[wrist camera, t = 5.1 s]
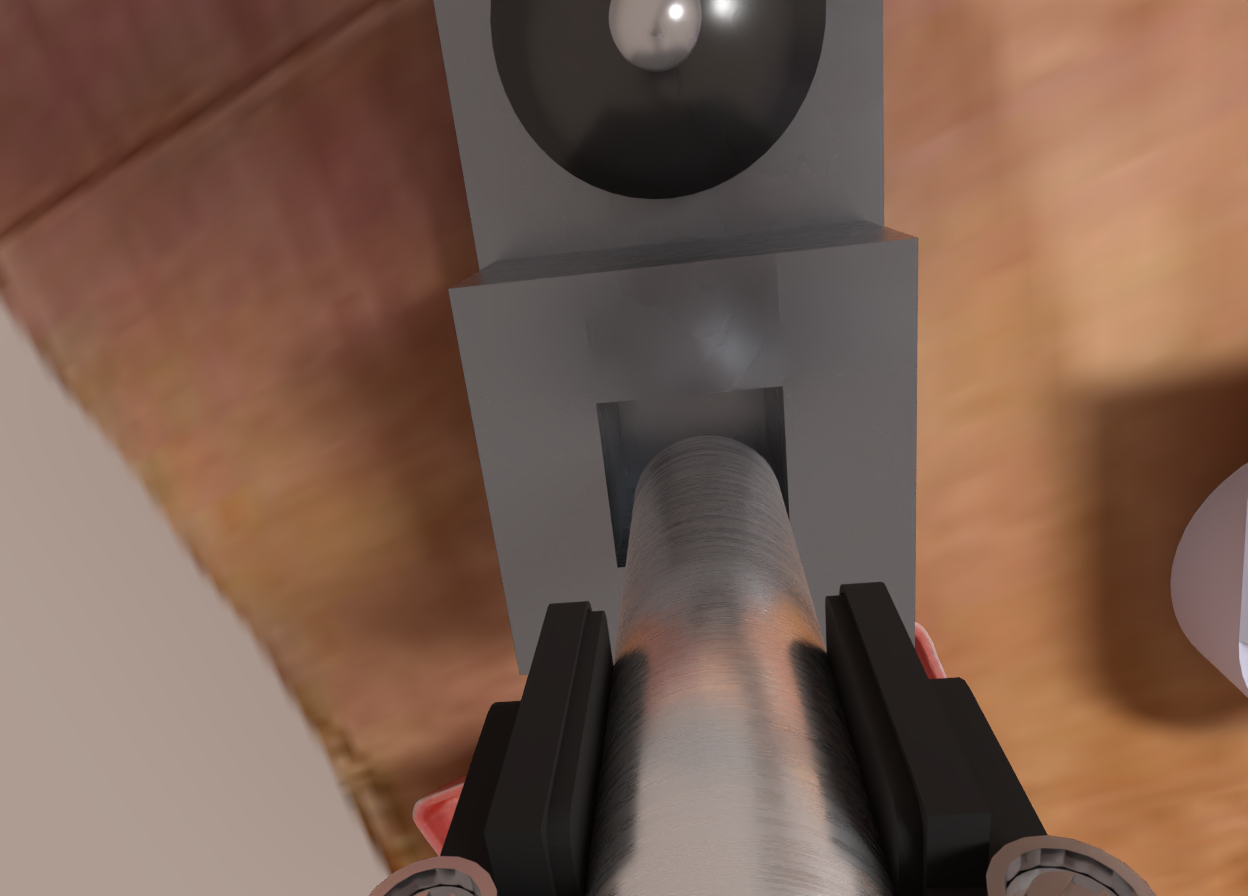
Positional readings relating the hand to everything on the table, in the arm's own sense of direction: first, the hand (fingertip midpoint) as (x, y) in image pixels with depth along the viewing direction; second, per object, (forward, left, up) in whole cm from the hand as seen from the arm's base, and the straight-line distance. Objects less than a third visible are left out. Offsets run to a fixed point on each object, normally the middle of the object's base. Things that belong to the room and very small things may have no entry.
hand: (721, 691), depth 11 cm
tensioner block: (-4, 0, -15) cm, 15 cm away
